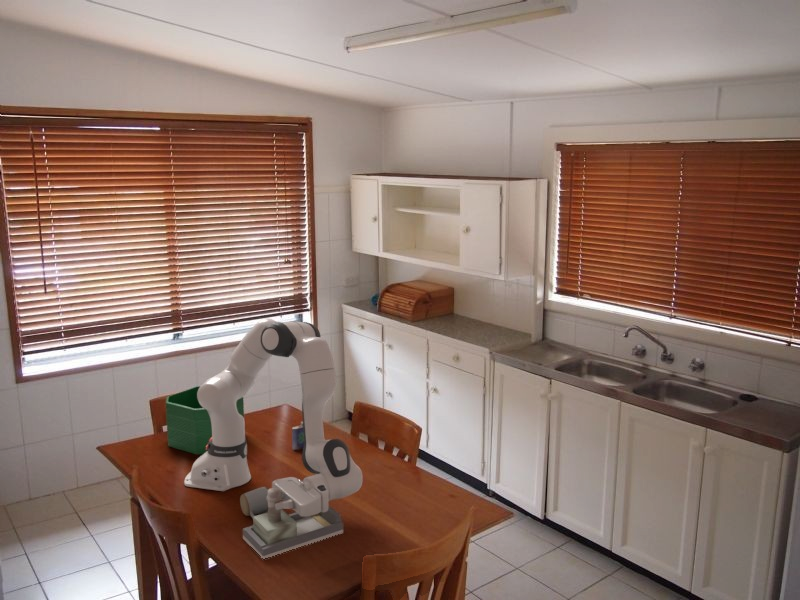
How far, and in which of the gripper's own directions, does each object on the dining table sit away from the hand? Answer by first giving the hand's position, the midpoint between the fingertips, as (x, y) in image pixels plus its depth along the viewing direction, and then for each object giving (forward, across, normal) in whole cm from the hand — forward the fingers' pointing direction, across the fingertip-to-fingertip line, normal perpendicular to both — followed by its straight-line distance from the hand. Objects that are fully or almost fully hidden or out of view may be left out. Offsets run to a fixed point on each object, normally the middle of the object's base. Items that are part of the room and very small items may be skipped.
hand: (271, 502), depth 201 cm
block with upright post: (-1, 0, +11) cm, 11 cm away
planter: (-13, -87, +13) cm, 89 cm away
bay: (-7, 0, +12) cm, 14 cm away
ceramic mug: (-4, -18, +13) cm, 23 cm away
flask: (-41, -58, +13) cm, 72 cm away
